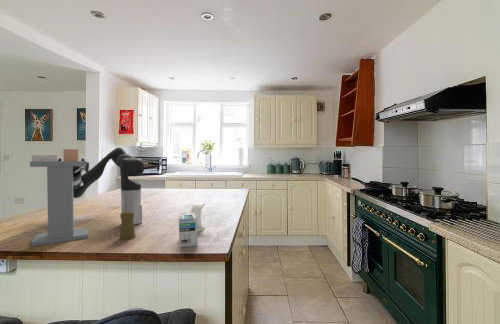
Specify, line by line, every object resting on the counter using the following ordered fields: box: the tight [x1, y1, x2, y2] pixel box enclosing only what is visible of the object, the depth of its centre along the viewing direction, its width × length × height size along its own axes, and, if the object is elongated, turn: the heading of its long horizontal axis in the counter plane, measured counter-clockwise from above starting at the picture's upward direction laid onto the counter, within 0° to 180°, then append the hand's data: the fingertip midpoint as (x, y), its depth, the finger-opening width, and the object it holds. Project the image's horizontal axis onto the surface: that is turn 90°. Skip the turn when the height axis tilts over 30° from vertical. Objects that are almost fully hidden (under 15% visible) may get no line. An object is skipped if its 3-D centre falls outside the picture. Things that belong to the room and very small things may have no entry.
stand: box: [29, 154, 89, 247], centre depth 107 cm, size 18×13×34 cm
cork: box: [118, 211, 136, 241], centre depth 107 cm, size 6×6×11 cm
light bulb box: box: [178, 212, 198, 248], centre depth 100 cm, size 11×7×11 cm, turn 17°
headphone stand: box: [190, 202, 206, 232], centre depth 118 cm, size 5×6×12 cm
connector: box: [62, 148, 79, 161], centre depth 114 cm, size 5×17×5 cm, turn 33°
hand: (71, 159), depth 121 cm, fingers open, 8 cm apart
